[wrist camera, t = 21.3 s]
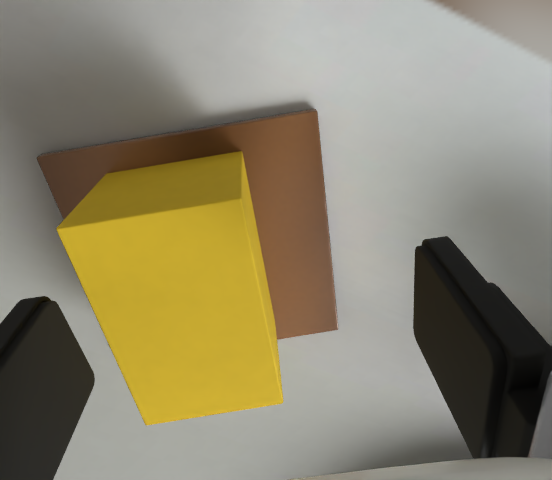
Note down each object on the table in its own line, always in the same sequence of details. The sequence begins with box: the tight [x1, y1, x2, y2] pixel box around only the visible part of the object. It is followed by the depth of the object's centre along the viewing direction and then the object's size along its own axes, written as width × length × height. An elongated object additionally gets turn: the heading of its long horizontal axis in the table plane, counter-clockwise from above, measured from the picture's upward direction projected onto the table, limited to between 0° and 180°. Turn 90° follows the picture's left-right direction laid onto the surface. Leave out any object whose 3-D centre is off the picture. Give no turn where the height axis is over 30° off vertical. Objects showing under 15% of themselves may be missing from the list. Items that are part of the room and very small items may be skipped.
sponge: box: [56, 151, 283, 425], centre depth 15 cm, size 5×8×4 cm, turn 9°
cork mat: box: [37, 109, 338, 339], centre depth 17 cm, size 10×10×1 cm
